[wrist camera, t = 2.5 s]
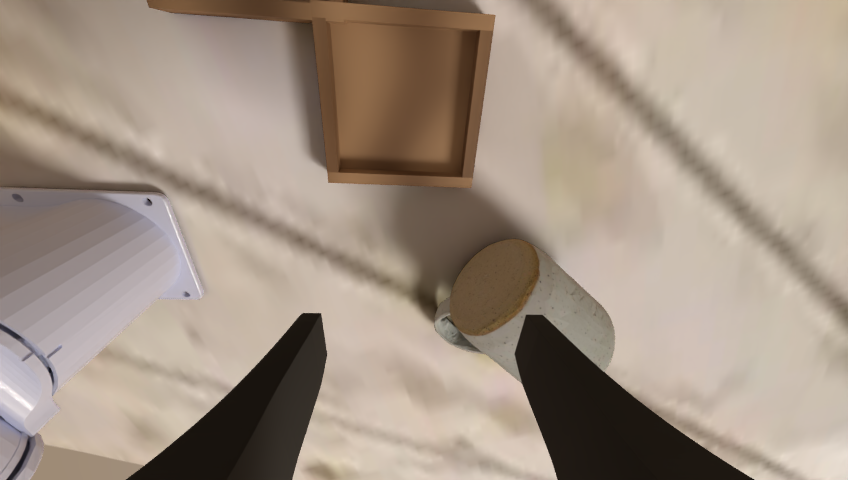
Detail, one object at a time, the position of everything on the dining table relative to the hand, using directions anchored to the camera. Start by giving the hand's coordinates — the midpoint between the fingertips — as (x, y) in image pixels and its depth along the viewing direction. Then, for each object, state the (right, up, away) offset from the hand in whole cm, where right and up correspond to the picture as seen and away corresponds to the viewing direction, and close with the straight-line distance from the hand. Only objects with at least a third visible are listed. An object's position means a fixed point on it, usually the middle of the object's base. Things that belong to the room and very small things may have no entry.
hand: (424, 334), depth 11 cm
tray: (-1, +11, +6) cm, 12 cm away
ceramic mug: (+6, 0, +13) cm, 14 cm away
